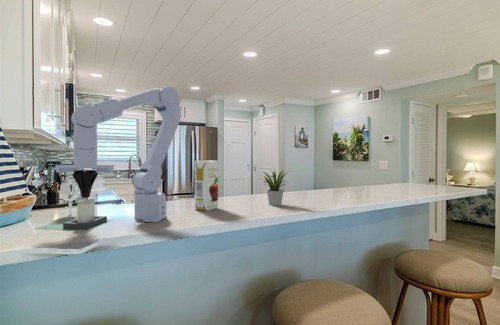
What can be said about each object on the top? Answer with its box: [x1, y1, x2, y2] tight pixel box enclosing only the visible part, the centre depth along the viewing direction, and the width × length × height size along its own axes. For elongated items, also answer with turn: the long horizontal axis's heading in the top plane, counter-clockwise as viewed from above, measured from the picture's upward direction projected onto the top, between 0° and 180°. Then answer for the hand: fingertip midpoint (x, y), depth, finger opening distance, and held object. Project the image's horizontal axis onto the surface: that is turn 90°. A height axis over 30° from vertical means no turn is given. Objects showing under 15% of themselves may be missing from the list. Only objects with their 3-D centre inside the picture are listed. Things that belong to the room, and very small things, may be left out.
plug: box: [76, 198, 96, 223], centre depth 81 cm, size 5×3×7 cm, turn 10°
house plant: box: [262, 168, 292, 207], centre depth 121 cm, size 14×14×16 cm
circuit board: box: [34, 215, 113, 231], centre depth 81 cm, size 15×12×2 cm
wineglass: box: [59, 180, 81, 216], centre depth 94 cm, size 6×6×12 cm
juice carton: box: [194, 160, 219, 212], centre depth 110 cm, size 8×9×19 cm
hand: (85, 197), depth 80 cm, fingers closed
